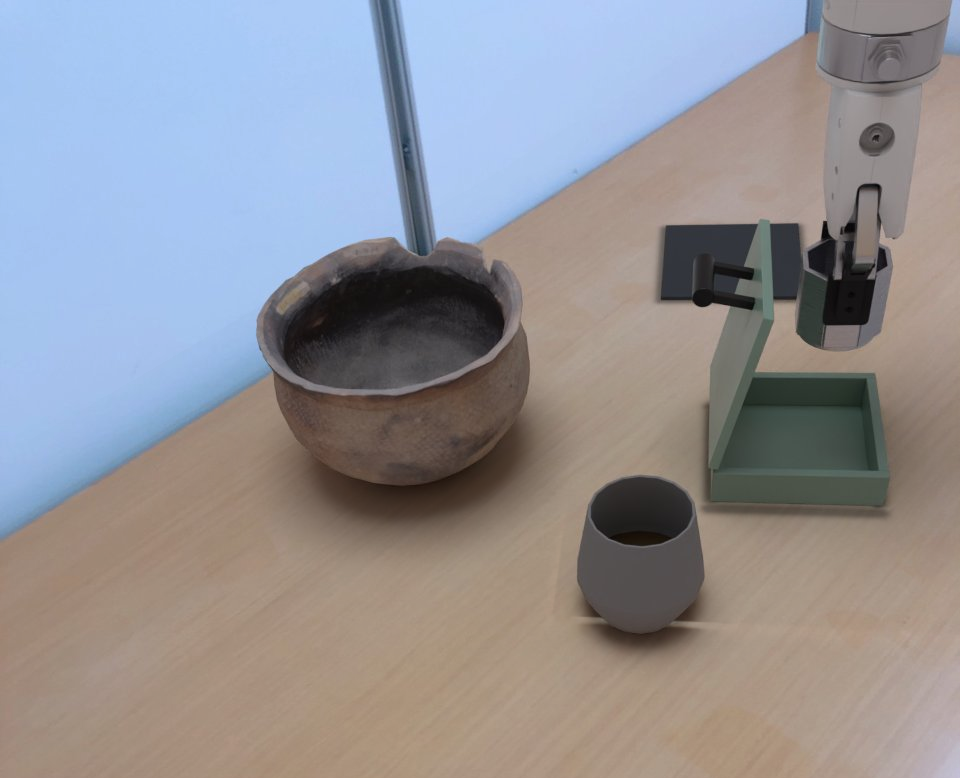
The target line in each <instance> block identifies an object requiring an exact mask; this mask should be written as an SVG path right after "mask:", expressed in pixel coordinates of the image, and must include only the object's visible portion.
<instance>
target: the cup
mask: <svg viewBox="0 0 960 778" xmlns="http://www.w3.org/2000/svg"><path fill="white" fill-rule="evenodd" d="M583 524H584V525H583V528H582V529H583V530H582V534H581V540H580V545H579V550H578V554H577V560H576V582H577V585H578V587H579V588H580V590H581V593H582V595H583V597H584V599H585V601H586V602H587V603H588V604H589V605H590V607H591V608H592V609H593V610H594V611H595V612H596V613H597V614H598V615H599V616H600V617H601V618H602V619H603V620H604V621H605V622H607V624H609V625H610V626H611V627H613V628H615V629H617V630H620V631H621V632H624V633H631V634H641V635H642V634H649V633H655V632H658V631H660V630H662V629H665V628H667V627H669V626H670V625H671V624H672V623H673V622H674V621H676V619H677V618H678V617H680V616H681V615H682V614H683V613H684V612H685V611H686V610H687V609H688V608H689V607H690V606H691V605H692V604H693V603H694V602H695V600H697V597H698V595H699V593H700V591H701V588H702V586H703V583H704V581H705V577H706V576H705V575H706V574H705V561H704V553H703V548H702V540H701V535H700V528H699V521H698V515H697V509H696V502H695V501H694V499H693V498H692V497H691V495H690V493H689V492H688V490H686V489H685V488H684V487H683V486H681V485H680V484H679V483H677V482H675V481H673V480H671V479H667V478H664V477H662V476H659V475H649V474H636V475H627V476H622V477H619V478H616V479H614V480H611V481H609V482H607V483H605V484H604V485H603V486H602V487H600V488H599V489H598V490H597V491H595V492H594V494H593V495H592V497H591V499H590V501H589V502H588V505H587V509H586V515H585V519H584V523H583Z"/></svg>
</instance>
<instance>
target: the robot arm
mask: <svg viewBox="0 0 960 778" xmlns="http://www.w3.org/2000/svg"><path fill="white" fill-rule="evenodd" d="M952 4H953V0H823V1H822V11H821V16H820V24H819V32H818V33H819V34H818V43H817V52H816V59H815V72H816V74H817V76H818V77H819V78H821V79H822V80H823V81H824V82H826V83H827V84H830V85H831V87H830V94H829V101H828V109H827V117H826V128H825V137H824V147H823V163H822V164H823V166H822V185H823V187H822V188H823V198H824V208H825V219H826V220H823V221H822V226H821V234H820V240H821V239H823V238H825V237H832V238H834V239H835V240H836V245H835V256H834V267H833V273H828V280H827V287H826V294H825V301H824V308H823V315H822V320H823V324H824V325H826V326H839V325H865V324H867V323H868V321H869V316H870V310H871V305H872V299H873V293H874V288H875V282H876V277H877V274H876V268H877V258H878V249H879V243H880V240H881V229H882V230H883V233H884V236H885V239H892V240H898V239H900V237H901V236H902V235H903V234H904V231H905V225H906V219H907V212H908V206H909V199H910V193H911V192H910V191H911V185H912V179H913V173H914V166H915V161H916V160H915V159H916V152H917V146H918V145H917V144H918V138H919V130H920V121H921V109H922V97H923V96H922V95H923V84H924V83H927V82H928V81H930V80H931V79H932V78H934V77H935V76H936V75H937V74H938V72H939V71H940V67H941V62H942V58H943V52H944V47H945V43H946V36H947V32H948V26H949V21H950V16H951V10H952ZM845 242H854V248H853V251H852V254H848V255H847V256H846V258H845V259H844V253H845Z"/></svg>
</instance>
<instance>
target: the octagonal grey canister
mask: <svg viewBox="0 0 960 778" xmlns="http://www.w3.org/2000/svg"><path fill="white" fill-rule="evenodd" d="M835 245H836V240H835V239H834V238H832V237H825V238H823V239H821V238H820V239H819V240H818V241H816V242H814V243H813V244H811V245H809V246H808V247H805V248H804V249H803V250H802V251H801V266H800V275H799V283H798V292H797V299H795V300H796V302H795V310H794V324H795V326H794V327H795V334H796V335H797V336H799V337H800V339H801V340H802V341H804V342H805V344H807V345H809V346H810V347H813V348H815V349H817V350H823V351H826V352H827V351H828V352H848V351H853V350H858V349H860V348H862V347H865V346H867V344H869V343H870V342H871V341H873V339H874V338H875V337H877V336H878V335H880V334H881V332H882V329H883V323H884V318H885V312H886V306H887V302H888V298H889V297H888V296H889V292H890V286H891V280H892V276H893V272H894V271H893V270H894V263H893V257H892V252H891V251H892V250H891V248H890V247H888V246H887V245H884V244H883V243H880V242H879V249H878V258H877V268H876V274H877V277H876V282H875V288H874V293H873V299H872V305H871V310H870V316H869V321H868V323H867V324H865V325H839V326H826V325H824V324H823V320H822V315H823V308H824V301H825V294H826V287H827V280H828V273H833V267H834V256H835ZM853 248H854V242H845V253H844V259H845V258H846V256H847V255H848V254H852V251H853Z"/></svg>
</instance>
